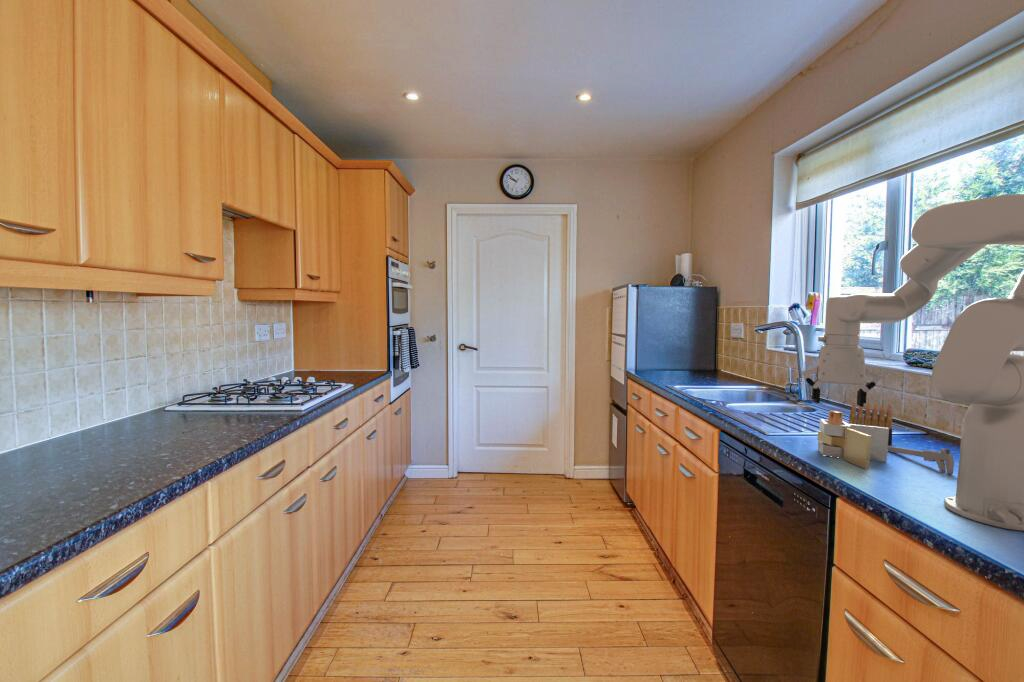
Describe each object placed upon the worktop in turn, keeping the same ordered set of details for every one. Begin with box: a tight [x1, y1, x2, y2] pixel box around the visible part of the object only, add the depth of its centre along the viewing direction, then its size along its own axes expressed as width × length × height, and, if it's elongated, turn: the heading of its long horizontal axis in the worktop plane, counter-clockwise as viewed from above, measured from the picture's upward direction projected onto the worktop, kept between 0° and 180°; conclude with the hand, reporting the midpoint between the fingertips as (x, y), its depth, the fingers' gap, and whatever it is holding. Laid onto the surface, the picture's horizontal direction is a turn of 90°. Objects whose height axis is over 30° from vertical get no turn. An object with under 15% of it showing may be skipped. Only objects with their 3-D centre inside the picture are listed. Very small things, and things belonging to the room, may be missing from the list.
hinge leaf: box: [817, 428, 871, 470], centre depth 114 cm, size 14×5×8 cm, turn 0°
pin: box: [827, 410, 844, 447], centre depth 118 cm, size 3×3×12 cm
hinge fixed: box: [817, 418, 889, 463], centre depth 116 cm, size 6×14×9 cm, turn 64°
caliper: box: [887, 445, 955, 475], centre depth 115 cm, size 20×1×6 cm, turn 178°
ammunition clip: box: [848, 402, 893, 446], centre depth 131 cm, size 11×2×12 cm, turn 68°
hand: (838, 404), depth 117 cm, fingers open, 9 cm apart
